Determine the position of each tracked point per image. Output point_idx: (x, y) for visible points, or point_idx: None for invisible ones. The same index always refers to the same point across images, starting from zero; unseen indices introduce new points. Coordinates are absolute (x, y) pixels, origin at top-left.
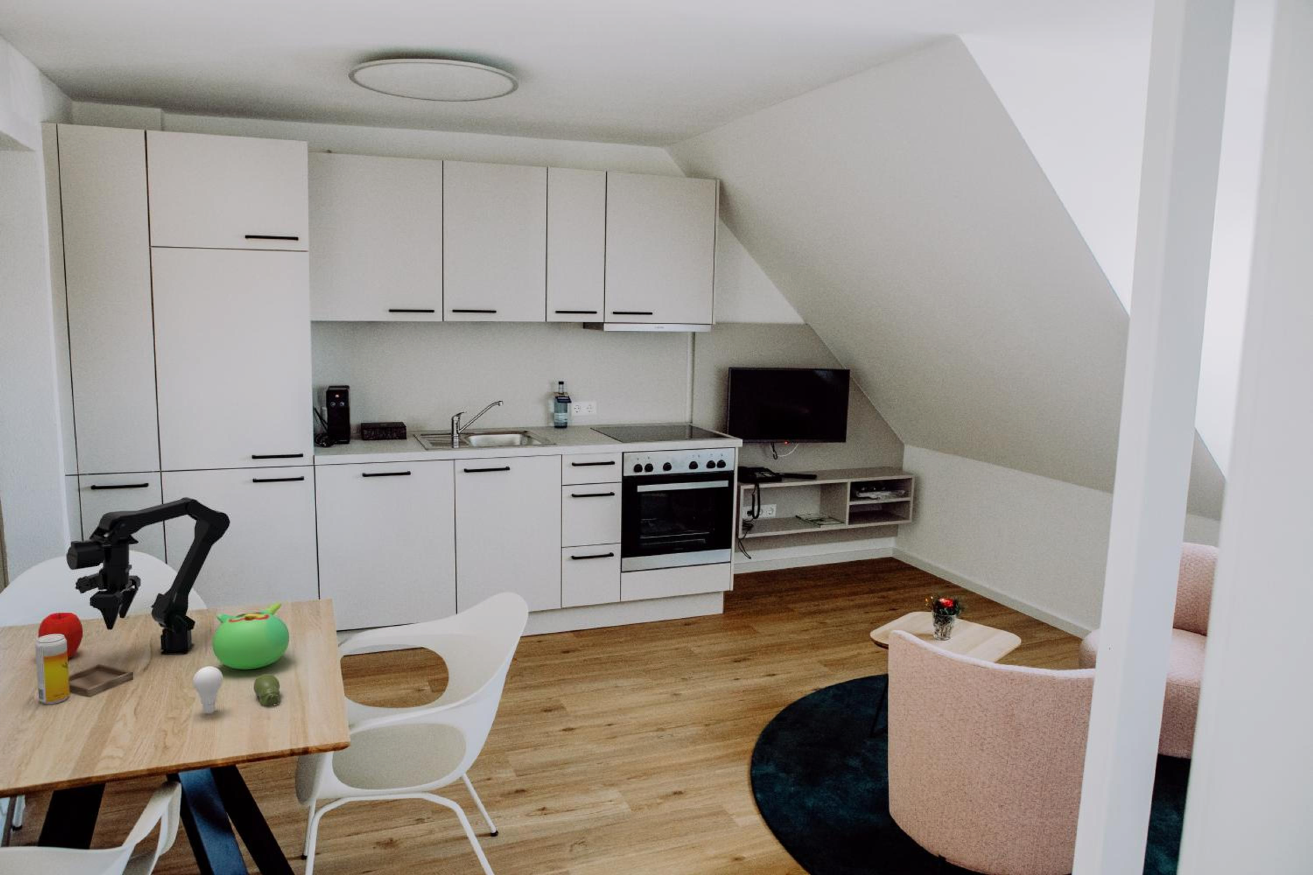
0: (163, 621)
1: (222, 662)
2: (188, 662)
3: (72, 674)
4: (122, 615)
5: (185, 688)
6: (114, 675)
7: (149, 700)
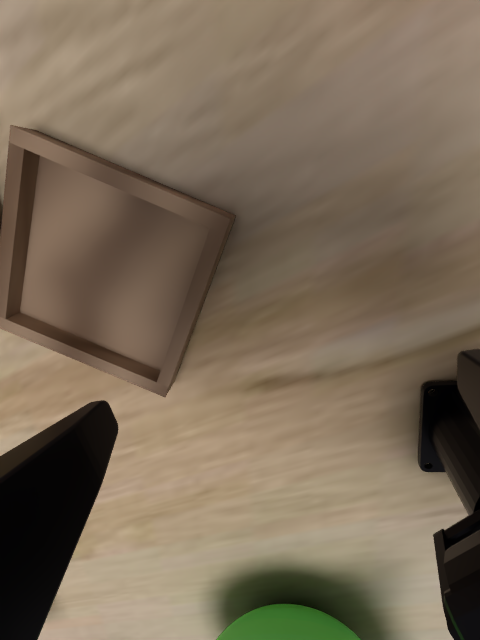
0: (447, 577)
1: (226, 628)
2: (333, 489)
3: (96, 164)
4: (471, 390)
5: (135, 529)
6: (171, 319)
7: None
